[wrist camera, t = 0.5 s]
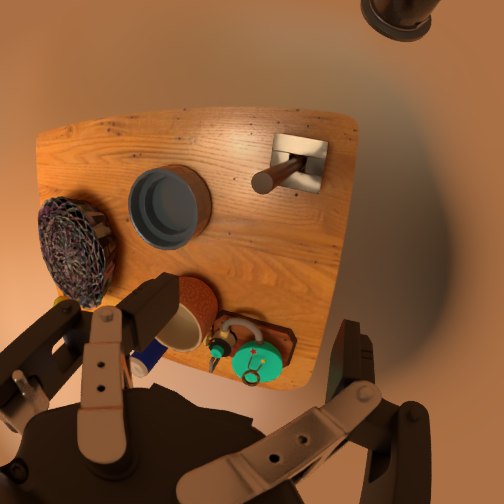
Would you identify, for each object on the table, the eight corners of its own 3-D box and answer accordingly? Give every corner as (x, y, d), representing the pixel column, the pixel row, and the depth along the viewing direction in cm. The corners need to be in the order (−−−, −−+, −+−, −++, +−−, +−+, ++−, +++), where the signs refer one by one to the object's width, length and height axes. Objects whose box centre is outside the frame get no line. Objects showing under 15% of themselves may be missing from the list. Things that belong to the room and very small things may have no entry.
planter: (234, 292, 55) (213, 324, 45) (210, 330, 61) (188, 363, 51) (182, 257, 56) (151, 282, 46) (164, 299, 61) (136, 326, 51)
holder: (282, 133, 42) (274, 132, 36) (328, 142, 40) (328, 142, 35) (275, 178, 45) (267, 183, 40) (320, 187, 43) (318, 194, 38)
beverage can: (158, 331, 66) (124, 369, 52) (161, 316, 63) (125, 355, 50) (176, 341, 65) (144, 382, 52) (180, 327, 63) (146, 369, 50)
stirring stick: (297, 154, 42) (252, 170, 19) (307, 156, 42) (275, 174, 19) (296, 164, 43) (249, 192, 20) (306, 166, 43) (271, 196, 20)
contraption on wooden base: (215, 297, 57) (180, 343, 43) (302, 321, 53) (289, 377, 40) (210, 347, 63) (182, 393, 49) (287, 369, 59) (271, 423, 46)
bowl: (148, 161, 50) (129, 165, 44) (216, 169, 47) (201, 174, 42) (146, 230, 56) (129, 240, 50) (209, 246, 53) (195, 258, 47)
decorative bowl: (133, 196, 56) (101, 204, 47) (132, 308, 65) (108, 328, 56) (62, 184, 61) (33, 190, 51) (67, 279, 70) (43, 292, 61)
